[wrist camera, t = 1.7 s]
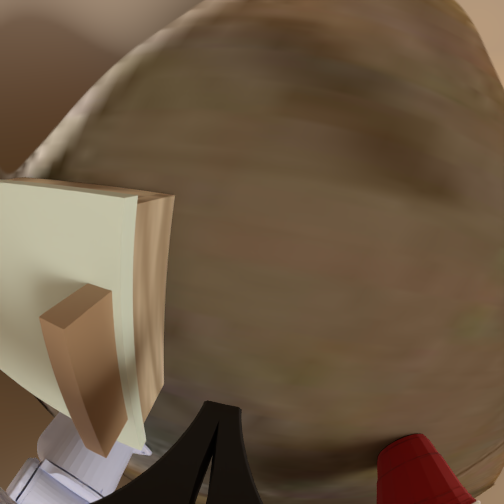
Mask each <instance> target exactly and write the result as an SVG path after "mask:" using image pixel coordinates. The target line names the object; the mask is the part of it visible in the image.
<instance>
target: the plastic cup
mask: <svg viewBox="0 0 504 504" xmlns="http://www.w3.org/2000/svg"><path fill="white" fill-rule="evenodd" d="M377 472H378V481H377V504H480V503H481V502H480V501H476V499H474V498H472V496H471V495H470V493H468V492H467V490H466V489H465V487H463V486H462V485H461V483H460V482H459V480H458V479H457V477H456V476H455V474H454V473H453V471H452V470H451V469H450V467H449V466H448V464H447V463H446V461H445V460H444V459H443V457H442V456H441V455H440V454H439V453H438V452H437V450H436V449H435V447H434V446H433V444H432V443H431V442H430V440H429V439H428V438H427V437H426V436H424V435H423V434H413V435H409V436H406V437H404V438H401V439H399V440H397V441H395V442H393V443H392V444H390V445H388V446H387V447H386V448H385V449H383V450H382V451H381V452H380V454H379V455H378V461H377Z"/></svg>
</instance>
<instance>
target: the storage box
mask: <svg viewBox="0 0 504 504" xmlns="http://www.w3.org/2000/svg"><path fill="white" fill-rule="evenodd" d="M7 180H13V181H25V182H35V183H45V184H54V185H63V186H72V187H80V188H88V189H96V190H103V191H111V192H118V193H125V194H132V195H138V201H137V211H136V222H135V236H134V256H133V328H134V346H135V360H136V371H137V381H138V390H139V398H140V405H141V412H142V419H143V424H144V422H145V420H146V418H147V416H148V414H149V412H150V410H151V408H152V406H153V404H154V402H155V400H156V398H157V396H158V394H159V392H160V390H161V389H162V387H163V385H164V314H165V293H166V277H167V264H168V252H169V242H170V232H171V223H172V214H173V206H174V199H175V195H170V194H164V193H157V192H150V191H143V190H136V189H129V188H121V187H114V186H106V185H97V184H89V183H80V182H70V181H61V180H50V179H39V178H26V177H22V178H14V179H7Z"/></svg>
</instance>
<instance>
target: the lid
mask: <svg viewBox="0 0 504 504" xmlns="http://www.w3.org/2000/svg"><path fill="white" fill-rule="evenodd" d="M137 201H138V195H132V194H125V193H118V192H111V191H103V190H96V189H88V188H80V187H72V186H63V185H54V184H45V183H35V182H25V181H13V180H1V179H0V369H1V370H2V371H3V372H4V373H6V374H7V375H8V376H9V377H11V378H12V379H13V380H14V381H16V382H17V383H18V384H19V385H21V386H22V387H23V388H25V389H26V390H28V391H29V392H30V393H32V394H33V395H35V396H36V397H38V398H39V399H41V400H42V401H44V402H45V403H47V404H48V405H50V406H51V407H53V408H55V409H56V410H58V411H59V412H61V413H63V414H65V415H66V416H68V417H70V418H71V419H72V421H73V423H74V425H75V427H76V429H77V431H78V433H79V435H80V437H81V439H82V441H83V443H84V445H85V447H86V448H87V449H89V450H91V451H93V452H95V453H97V454H99V455H101V456H103V457H105V458H107V456H108V455H109V453H110V451H111V449H112V447H113V445H114V444H115V442H116V441H118V442H120V443H123V444H125V445H128V446H130V447H133V448H135V449H138V450H140V451H141V450H142V448H143V446H144V444H145V442H146V436H145V431H144V425H143V419H142V412H141V405H140V398H139V390H138V381H137V371H136V360H135V346H134V328H133V256H134V236H135V222H136V211H137Z"/></svg>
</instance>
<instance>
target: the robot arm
mask: <svg viewBox="0 0 504 504" xmlns="http://www.w3.org/2000/svg"><path fill="white" fill-rule="evenodd" d="M241 411H242V410H241V409H240V408H239V407H235V406H230V405H225V404H220V403H216V402H212V401H205V402H204V404H203V406H202V408H201V409H200V411H199V413H198V414H197V416H196V417H195V419H194V420H193V422H192V423H191V425H190V426H189V427H188V429H187V430H186V431H185V432H184V433H183V435H182V436H181V437H180V438H179V440H178V441H177V442H176V443H175V444H174V445H173V446H172V447H171V448H170V449H169V450H168V451H167V452H166V453H165V454H164V455H163V456H162V457H161V458H160V459H159V460H158V461H157V462H156V463H155V464H153V465H152V466H151V467H150V468H149V469H147V470H146V471H145V472H144V473H142V474H141V475H140V476H138V477H137V478H135V479H134V480H133V481H131V482H130V483H128V484H127V485H125V486H123V487H122V488H120V489H118V490H116V491H115V489H116V487H117V485H118V482H119V480H120V478H121V476H122V474H123V472H124V470H125V468H126V466H127V464H128V462H129V460H130V457H131V455H132V453H137V454H143V455H151V454H152V452H151V450H150V449H149V448H148V447H147V446H146V445H145V444H144V446H143V448H142V450H141V451H140V450H138V449H135V448H133V447H130V446H128V445H125V444H123V443H120V442H118V441H116V442H115V444H114V445H113V447H112V449H111V451H110V453H109V455H108V456H107V458H105V457H103V456H101V455H99V454H97V453H95V452H93V451H91V450H89V449H87V448H86V447H85V445H84V443H83V441H82V439H81V437H80V435H79V433H78V431H77V429H76V427H75V425H74V423H73V421H72V419H71V418H70V417H68V416H66V415H65V414H63V413H61V412H59V413H58V414H57V415H56V416H55V418H54V419H53V420H52V422H51V423H50V424H49V426H48V427H47V428H46V429H45V431H44V432H43V433H42V434H41V436H40V438H39V440H38V444H37V453H38V456H39V459H40V461H41V462H40V461H39V460H38V459H37V458H34V459H33V458H28V459H27V461H26V462H25V463H24V465H23V466H22V468H21V469H20V470H19V472H18V474H17V475H16V476H15V478H14V479H13V481H12V482H11V484H10V485H9V487H8V488H7V490H6V491H7V492H5V491H4V490H3V489H2V488H0V504H195V502H196V499H197V496H198V493H199V490H200V487H201V485H202V482H203V479H204V477H205V474H206V471H207V468H208V466H209V463H210V460H211V457H212V455H213V457H212V465H211V473H210V482H209V490H208V497H207V501H206V504H263V502H262V500H261V498H260V496H259V493H258V491H257V488H256V486H255V483H254V480H253V477H252V474H251V471H250V467H249V464H248V460H247V456H246V451H245V446H244V441H243V434H242V424H241ZM39 462H40V464H39ZM114 491H115V492H114Z"/></svg>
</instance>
